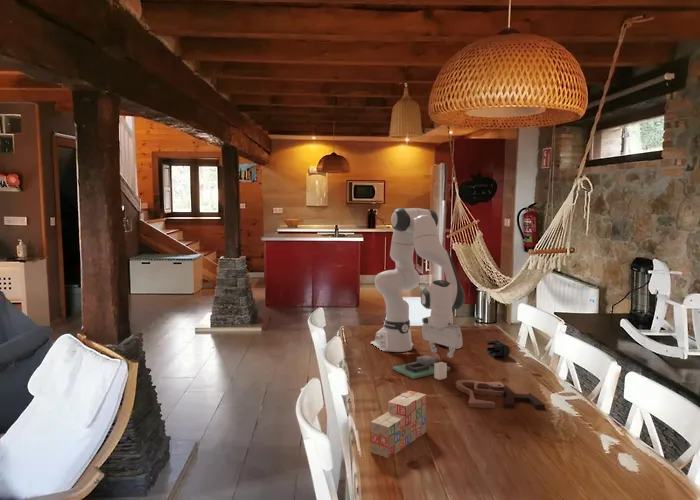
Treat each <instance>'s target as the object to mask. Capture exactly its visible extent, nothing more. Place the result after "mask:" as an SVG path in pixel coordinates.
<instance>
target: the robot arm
mask: <svg viewBox="0 0 700 500" xmlns="http://www.w3.org/2000/svg"><path fill="white" fill-rule="evenodd" d="M438 223H439V216H438V213H437V212H436V211H434V210H432V209H428V208H427V209H426V208H425V209H424V208H419V207H413V208H411V207H409V208H404V207H399V208H396V209H394V210H393V211H392V212H391V216H390V225H391V227H392V229H393V232H392V236H391V243H390V251H389V257H390V258H391V260H392V261H393V262H395V263H394V264H395V268H394V269H389V270H387V269H386V270H384V271H381V272H379V273H377V274H376V276H375V278H374V286H375V288H376V290H377V291H378V292H379V293H380V294H381V295H382V297H383V299H384V303H385V315H386V316H385V318H386V319H383V321H382V322H383V324H384V325H383V327H381V328H380V329H379V330H378V331H377V332H376V333H375V339H374V340H373V341H370V345H371V344H373V345H374V346H373V345H372V346H373V347H375V346H376V347H377V349H378V348H379V349H378V350H379V351H381V350H382V351H381V352H391V353H392V352H394V353H401V352H403V353H405V352H408V351H412V349H413V346H414V343H413V342H412V332H411V329H410V327H411V320H410V305H409V303H408V302H407V300H406V299H405V300H404V298H403V294H402V292H406V291H411V290H413V289H415V288H417V287H418V286H419V285H420V282H421V278H420V277H421V276H420V274H419V271H417V270H416V268H415V264H414V254H415V253H416V254H417V255H418V257H420V258H421V259H423V260H425V261H428V262H431V263H432V264H433V263H434V264H436V265H438V266H440V268H442V270H443V272H444V276H445V278H446V280H443V279H437V280H433V281H432V282H431V285H429V286H426V287H424V288H423V289H422V291H420V303H421V305H422V307H424V308H425V309H426V310H430V316H426V317H422V320H421V322H422V326H421V337H422V339H423V340H424V341H427V342H428V345H429V346H430V351H431V353H434V354H435V353H437V347H436V346H435V345H436V344H434V343H437V344H441V345H444V346H447V347H446V348H448V350H449V352H447V353H446V357H447V358H449V359H452V358H453V357H454V353H455V351H456V350H457V349H461V348H462V347H463V344H464V343H463V336H462V335H463V334H462V329H461V327H460V326H459V325H458V324H454V313H453V310H459V309H461V307H463V306H464V304H465V303H466V300H467V299H466V294H465V290H464V288H463V286H462V284H461V282H460V279H459V276H458V273H457V270H456V266H455V264H454V262H453V258H452V256H451V253H450V252H449V250H448V249H446V248H444V246H443V245H442V243H441V241H440V240H441V239H440V237H439V231H438ZM414 252H415V253H414ZM376 347H375V348H376Z"/></svg>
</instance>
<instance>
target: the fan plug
mask: <svg viewBox="0 0 700 500" xmlns="http://www.w3.org/2000/svg"><path fill="white" fill-rule="evenodd" d="M447 364H448V363H447V362H444V361H439V362H437V363H434V374H433V379H436V380H437V381H438V380H441V381H442V380H444V379H447V378H448V377H447V375H448V373H447V372H448V371H447V366H448V365H447Z"/></svg>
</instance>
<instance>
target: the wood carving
mask: <svg viewBox="0 0 700 500" xmlns="http://www.w3.org/2000/svg"><path fill="white" fill-rule="evenodd" d="M468 387H473V389H470V388H468ZM455 388H456V389H457V390H459V392H462V393H464V394H466V395H468V396H469V399H468V407H469V408H483V409H484V408H486V409H487V408H488V409H496V403H495V402H494V401H490V400H489V401H488V400H483V399H476V397H475V394H476V395H487V396H492V397H493V396H495V397H505V402H504V404H503V408H504V409H515V403H529V404H530V405H532V407H533V408H534V410H546V405H545V403H544V402H543V401H542V400H540V399H539V398H537V397H536V396H535V395H534V394H532V393H530V392H529V393H516V392H513V390H512V389H511V388H510V387H509V386H507V385H506V384H503V383H502V382H501V381H488V382H487V381H479V380H473V379H458V380H456V381H455ZM484 388H486V389H484Z"/></svg>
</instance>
